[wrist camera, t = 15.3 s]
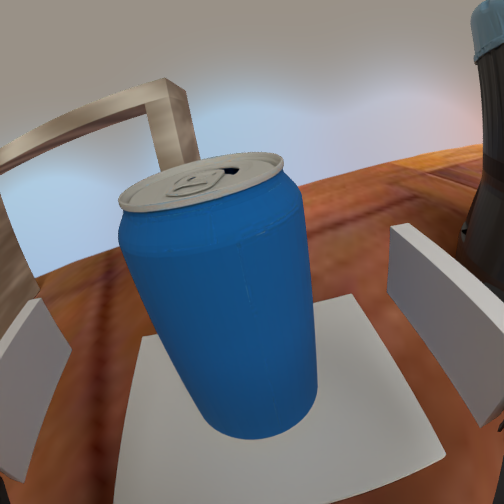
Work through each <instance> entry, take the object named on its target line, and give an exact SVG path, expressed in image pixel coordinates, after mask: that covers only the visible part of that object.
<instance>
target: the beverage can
mask: <svg viewBox="0 0 504 504" xmlns="http://www.w3.org/2000/svg"><path fill="white" fill-rule="evenodd" d="M283 166H284V162H283V158H282V157H281V156H279V155H277V154H274V153H266V152H248V153H236V154H229V155H223V156H217V157H211V158H207V159H202V160H198V161H194V162H190V163H187V164H183V165H180V166H177V167H174V168H171V169H168V170H165V171H162V172H160V173H157V174H155V175H152V176H150V177H148V178H146V179H143V180H141V181H139V182H138V183H136V184H134V185H132V186H131V187H129V188H128V189H127V190H125V191H124V192H123V193H122V194H121V195H120V196H119V198H118V202H119V205H120V207H121V209H123V216H122V220H121V223H120V226H119V230H118V240H119V245H120V248H121V250H122V253H123V256H124V258H125V261H126V263H127V266H128V268H129V271H130V273H131V276H132V278H133V280H134V283H135V285H136V287H137V290H138V292H139V294H140V297H141V299H142V301H143V303H144V306H145V308H146V310H147V312H148V314H149V317H150V319H151V321H152V323H153V325H154V327H155V329H156V331H157V333H158V335H159V338H160V340H161V342H162V344H163V346H164V348H165V350H166V352H167V354H168V355H169V357H170V359H171V361H172V363H173V365H174V367H175V369H176V371H177V373H178V374H179V376H180V378H181V380H182V382H183V384H184V385H185V387H186V389H187V391H188V392H189V394H190V396H191V398H192V399H193V401H194V403H195V405H196V406H197V408H198V410H199V411H200V413H201V415H202V416H203V418H204V419H205V421H206V422H207V423H208V424H209V425H210V426H211V427H213V428H214V429H215V430H217V431H219V432H220V433H222V434H224V435H227V436H229V437H233V438H237V439H244V440H258V439H265V438H270V437H273V436H276V435H279V434H281V433H283V432H285V431H287V430H289V429H291V428H292V427H294V426H295V425H297V424H298V423H299V422H300V421H301V420H302V419H303V418H304V417H305V416H306V415H307V414H308V412H309V411H310V409H311V408H312V406H313V404H314V401H315V399H316V395H317V390H318V379H317V357H316V340H315V324H314V310H313V297H312V285H311V274H310V263H309V253H308V243H307V234H306V225H305V216H304V208H303V200H302V195H301V192H300V190H299V188H298V187H297V185H296V184H295V183H294V182H293V181H292V180H291V179H290V178H289V177H288V176H287V175H286V174H285V173H284V172H283Z"/></svg>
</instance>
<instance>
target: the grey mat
mask: <svg viewBox="0 0 504 504" xmlns="http://www.w3.org/2000/svg"><path fill="white" fill-rule="evenodd" d="M313 310H314V324H315V340H316V357H317V379H318V390H317V395H316V399H315V401H314V404H313V406H312V408H311V409H310V411H309V412H308V414H307V415H306V416H305V417H304V418H303V419H302V420H301V421H300V422H299V423H298V424H297V425H295V426H294V427H292V428H291V429H289V430H287V431H285V432H283V433H281V434H279V435H276V436H273V437H270V438H265V439H258V440H244V439H237V438H233V437H229V436H227V435H224V434H222V433H220V432H219V431H217V430H215V429H214V428H213V427H211V426H210V425H209V424H208V423H207V422H206V421H205V419H204V418H203V416H202V415H201V413H200V411H199V410H198V408H197V406H196V405H195V403H194V401H193V399H192V398H191V396H190V394H189V392H188V391H187V389H186V387H185V385H184V384H183V382H182V380H181V378H180V376H179V374H178V373H177V371H176V369H175V367H174V365H173V363H172V361H171V359H170V357H169V355H168V354H167V352H166V350H165V348H164V346H163V344H162V342H161V340H160V338H159V335H158V334H156V335H150V336H143V337H142V341H141V346H140V350H139V354H138V358H137V363H136V367H135V372H134V376H133V381H132V386H131V391H130V396H129V401H128V406H127V411H126V417H125V422H124V428H123V434H122V440H121V446H120V453H119V460H118V467H117V475H116V483H115V491H114V501H113V504H329V503H333V502H336V501H340V500H343V499H346V498H350V497H353V496H356V495H359V494H362V493H365V492H368V491H370V490H373V489H376V488H379V487H381V486H384V485H386V484H389V483H391V482H394V481H396V480H399V479H401V478H403V477H406V476H408V475H410V474H412V473H414V472H417V471H419V470H421V469H423V468H425V467H427V466H429V465H431V464H433V463H435V462H437V461H439V460H441V459H442V458H444V457H445V455H446V453H445V451H444V449H443V447H442V445H441V443H440V441H439V439H438V437H437V435H436V433H435V432H434V430H433V428H432V426H431V424H430V422H429V420H428V419H427V417H426V415H425V413H424V411H423V410H422V408H421V406H420V404H419V402H418V401H417V399H416V397H415V395H414V394H413V392H412V390H411V388H410V387H409V385H408V383H407V382H406V380H405V378H404V376H403V375H402V373H401V371H400V370H399V368H398V366H397V365H396V363H395V361H394V360H393V358H392V356H391V355H390V353H389V352H388V350H387V348H386V347H385V345H384V343H383V342H382V340H381V339H380V337H379V335H378V334H377V332H376V331H375V329H374V327H373V326H372V324H371V323H370V321H369V320H368V318H367V316H366V315H365V313H364V312H363V310H362V309H361V307H360V306H359V304H358V303H357V301H356V300H355V298H354V296H353V295H352V294H348V295H344V296H340V297H336V298H332V299H328V300H324V301H320V302H316V303H313Z"/></svg>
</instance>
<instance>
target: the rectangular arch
mask: <svg viewBox="0 0 504 504" xmlns="http://www.w3.org/2000/svg"><path fill="white" fill-rule="evenodd" d="M143 114H147V117H148V121H149V125H150V130H151V134H152V138H153V143H154V147H155V150H156V155H157V159H158V163H159V167H160V170H161V172H162V171H165V170H168V169H171V168H174V167H177V166H180V165H183V164H187V163H190V162H194V161H198V160H201V159H200V155H199V150H198V146H197V141H196V137H195V132H194V128H193V123H192V118H191V114H190V109H189V105H188V100H187V95H186V91H185V90H184V89H182V88H180V87H179V86H177V85H176V84H174V83H173V82H171V81H169V80H168V79H166V78H162V79H159V80H155V81H152V82H148V83H145V84H142V85H139V86H136V87H133V88H130V89H127V90H124V91H121V92H118V93H115V94H112V95H110V96H107V97H104V98H102V99H99V100H97V101H94V102H92V103H89V104H87V105H84V106H82V107H80V108H78V109H75V110H73V111H71V112H68V113H66V114H64V115H62V116H60V117H57V118H55V119H53V120H51V121H49V122H47V123H45V124H43V125H41V126H39V127H37V128H35V129H33V130H31V131H30V132H28V133H26V134H24V135H22V136H20V137H19V138H17V139H15V140H13V141H12V142H10V143H8V144H7V145H5V146H3V147H2V148H0V175H2V174H3V173H5V172H7V171H9V170H11V169H12V168H14V167H16V166H18V165H20V164H22V163H24V162H26V161H28V160H30V159H32V158H34V157H36V156H38V155H40V154H42V153H44V152H46V151H49V150H51V149H53V148H55V147H57V146H60V145H62V144H64V143H67V142H69V141H72V140H74V139H76V138H79V137H81V136H84V135H86V134H89V133H91V132H94V131H97V130H99V129H102V128H105V127H108V126H110V125H113V124H116V123H119V122H122V121H125V120H128V119H131V118H134V117H137V116H140V115H143ZM39 291H40V288H39V286H38V284H37V282H36V280H35V278H34V276H33V274H32V272H31V270H30V268H29V266H28V263H27V261H26V259H25V257H24V255H23V252H22V250H21V248H20V246H19V243H18V241H17V238H16V236H15V233H14V231H13V228H12V226H11V223H10V220H9V218H8V215H7V212H6V209H5V206H4V204H3V201H2V198H1V194H0V340H1V339H2V337H3V336H4V334H5V333H6V331H7V330H8V328H9V327H10V325H11V324H12V323H13V321H14V320H15V318H16V317H17V315H18V314H19V313H20V311H21V310H22V309H23V307H24V306H25V305H26V303H27V302H28V301H29V300H32V299H34V297H35V296H36V295H37V293H38V292H39Z"/></svg>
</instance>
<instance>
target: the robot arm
mask: <svg viewBox="0 0 504 504" xmlns="http://www.w3.org/2000/svg"><path fill="white" fill-rule="evenodd" d="M471 30H472V36H473V42H474V50H475V55H474V62H475V65H478V71H479V80H480V88H481V101H482V118H483V170H482V178H481V181H480V184H479V187H478V189H477V192H476V195H475V197H474V200H473V202H472V205H471V207H470V210H469V213H468V215H467V218H466V221H465V223H464V224H463V226H462V228H461V230H460V233H459V237H458V244H457V251H456V260H455V259H454V258H453V257H451V256H450V255H449V254H448V253H447V252H445V251H444V250H443V249H442V248H440V247H439V246H438V245H437V244H435V243H434V242H433V241H431V240H430V239H429V238H428V237H426V236H425V235H424V234H422V233H421V232H420V231H418V230H417V229H416V228H414V227H413V226H412V225H410V224H409V223H405V224H400V225H395V226H391V227H390V250H389V268H388V282H387V293H388V294H389V296H390V297H391V298H392V299H393V301H394V302H395V303H396V305H397V306H398V307H399V309H400V310H401V311H402V312H403V314H404V315H405V316H406V318H407V319H408V320H409V322H410V323H411V325H412V326H413V327H414V329H415V330H416V331H417V333H418V334H419V335H420V337H421V338H422V340H423V341H424V342H425V344H426V345H427V347H428V348H429V349H430V351H431V352H432V354H433V355H434V357H435V358H436V360H437V361H438V362H439V364H440V365H441V367H442V368H443V370H444V371H445V373H446V374H447V376H448V377H449V379H450V380H451V382H452V383H453V385H454V386H455V388H456V390H457V391H458V393H459V394H460V396H461V397H462V399H463V400H464V402H465V404H466V405H467V407H468V409H469V410H470V412H471V413H472V415H473V417H474V418H475V420H476V422H477V423H478V425H479V427H480V428H481V427H483V426H484V425H486V424H487V423H489V422H490V421H492V420H493V419H495V418H496V417H498V416H499V415H500V414H501V413H502V411H503V410H504V0H486V1H484V2H482V3H481V4H480V5H478V7H476V8H475V10H474V11H473V13H472V16H471ZM71 351H72V348H71V347H70V345H69V344H68V342H67V341H66V339H65V338H64V336H63V334H62V333H61V331H60V330H59V328H58V326H57V325H56V323H55V321H54V320H53V318H52V316H51V314H50V313H49V311H48V309H47V307H46V306H45V304H44V302H43V300H42V298H37V299H32V300H29V301H28V302H27V303H26V305H25V306H24V307H23V309H22V310H21V311H20V313H19V314H18V315H17V317H16V318H15V320H14V321H13V323H12V324H11V325H10V327H9V328H8V330H7V331H6V333H5V334H4V336H3V337H2V339H1V340H0V471H1V472H2V473H3V474H5V475H6V476H8V477H9V478H10V479H13V480H16V481H18V482H21V483H24V482H25V478H26V474H27V470H28V467H29V463H30V460H31V457H32V453H33V450H34V447H35V444H36V441H37V438H38V435H39V432H40V429H41V426H42V423H43V420H44V417H45V415H46V412H47V409H48V407H49V404H50V401H51V399H52V396H53V394H54V391H55V389H56V386H57V384H58V381H59V379H60V377H61V374H62V372H63V369H64V367H65V365H66V363H67V360H68V358H69V356H70V354H71ZM503 428H504V420H503V421H502V423H501V424H500V425H499V428H498V431H497V432H501V431H502V429H503ZM0 504H10V501H9V498H8V495H7V491H6V488H5V484H4V481H3V479H2V477H0ZM493 504H504V457H503V462H502V467H501V472H500V476H499V481H498V485H497V489H496V493H495V497H494V500H493Z"/></svg>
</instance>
